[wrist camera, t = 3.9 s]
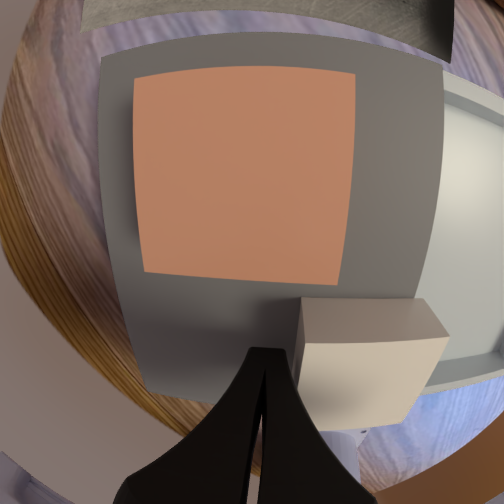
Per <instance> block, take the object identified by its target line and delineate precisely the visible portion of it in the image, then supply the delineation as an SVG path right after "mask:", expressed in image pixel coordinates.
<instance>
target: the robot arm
mask: <svg viewBox="0 0 504 504" xmlns="http://www.w3.org/2000/svg"><path fill="white" fill-rule="evenodd" d="M261 415H262V465H261V475H260V484H259V492H258V501H257V504H378V503H377V500H376V498H375V497H374V496H373V495H372V494H371V493H369V492H368V491H367V490H366V489H365V488H364V487H363V486H362V485H361V480H360V471H359V463H358V455H357V448H358V446H359V445H360V444H361V442H362V441H363V439H364V438H365V436H366V435H367V433H368V432H369V430H370V429H371V427H368V428H358V429H346V430H330V431H318V430H317V428H316V426H315V425H314V423H313V421H312V420H311V418H310V416H309V414H308V412H307V410H306V408H305V406H304V404H303V402H302V400H301V397H300V395H299V393H298V390H297V388H296V385H295V383H294V380H293V377H292V374H291V371H290V368H289V365H288V361H287V356H286V351H285V350H284V349H283V348H266V347H250V348H249V349H248V352H247V354H246V357H245V359H244V361H243V363H242V365H241V367H240V369H239V371H238V373H237V374H236V376H235V377H234V379H233V381H232V382H231V384H230V385H229V387H228V388H227V390H226V391H225V393H224V394H223V395H222V397H221V398H220V399H219V401H218V402H217V403H216V405H215V406H214V407H213V408H212V410H211V411H210V412H209V413H208V414H207V415H206V417H205V418H204V419H203V420H202V421H201V422H200V423H199V424H198V425H197V426H196V427H195V428H194V429H193V430H192V431H191V432H190V433H189V434H188V435H187V436H186V437H185V438H183V439H182V440H181V441H180V442H179V443H178V444H177V445H175V446H174V447H173V448H171V449H170V450H169V451H167V452H166V453H165V454H163V455H162V456H161V457H159V458H158V459H156V460H155V461H153V462H152V463H150V464H149V465H147V466H145V467H144V468H142V469H140V470H139V471H137V472H135V473H133V474H132V475H130V476H128V477H127V478H126V479H125V481H124V482H123V484H122V485H121V487H120V489H119V490H118V492H117V494H116V496H115V499H114V502H113V504H247V496H248V488H249V479H250V472H251V464H252V458H253V452H254V448H255V443H256V439H257V434H258V430H259V425H260V420H261ZM0 504H74V503H73V502H71V501H69V500H67V499H66V498H64V497H62V496H61V495H59V494H58V493H56V492H54V491H53V490H51V489H50V488H48V487H47V486H46V485H44V484H43V483H41V482H40V481H38V480H37V479H36V478H34V477H33V476H31V475H30V474H29V473H28V472H27V471H26V470H24V469H23V468H22V467H20V466H19V465H18V464H17V463H16V462H14V461H13V460H12V459H11V458H10V457H8V456H7V455H6V454H5V453H4V452H3V451H1V452H0ZM485 504H504V492H503V493H501V494H499V495H498V496H496V497H495V498H493V499H491V500H490V501H488V502H486V503H485Z"/></svg>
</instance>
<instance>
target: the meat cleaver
mask: <svg viewBox="0 0 504 504" xmlns="http://www.w3.org/2000/svg"><path fill="white" fill-rule="evenodd" d="M494 1H495V2H496V3H497V4H498V5H500V6H501V7H502V8H503V9H504V0H494ZM206 10H251V11H267V12H278V13H287V14H295V15H302V16H308V17H314V18H319V19H324V20H329V21H334V22H338V23H342V24H347V25H350V26H354V27H358V28H361V29H365V30H368V31H372V32H375V33H378V34H381V35H384V36H387V37H390V38H393V39H395V40H398V41H401V42H403V43H406V44H408V45H411V46H413V47H416V48H418V49H420V50H422V51H425V52H427V53H429V54H431V55H433V56H436V57H438V58H440V59H442V60H444V61H446V62H448V63H450V62H451V53H452V43H453V29H454V0H84V6H83V12H82V20H81V29H80V34H81V33H84V32H87V31H90V30H93V29H97V28H100V27H104V26H108V25H111V24H115V23H120V22H124V21H128V20H133V19H138V18H144V17H149V16H156V15H162V14H170V13H179V12H190V11H206Z"/></svg>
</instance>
